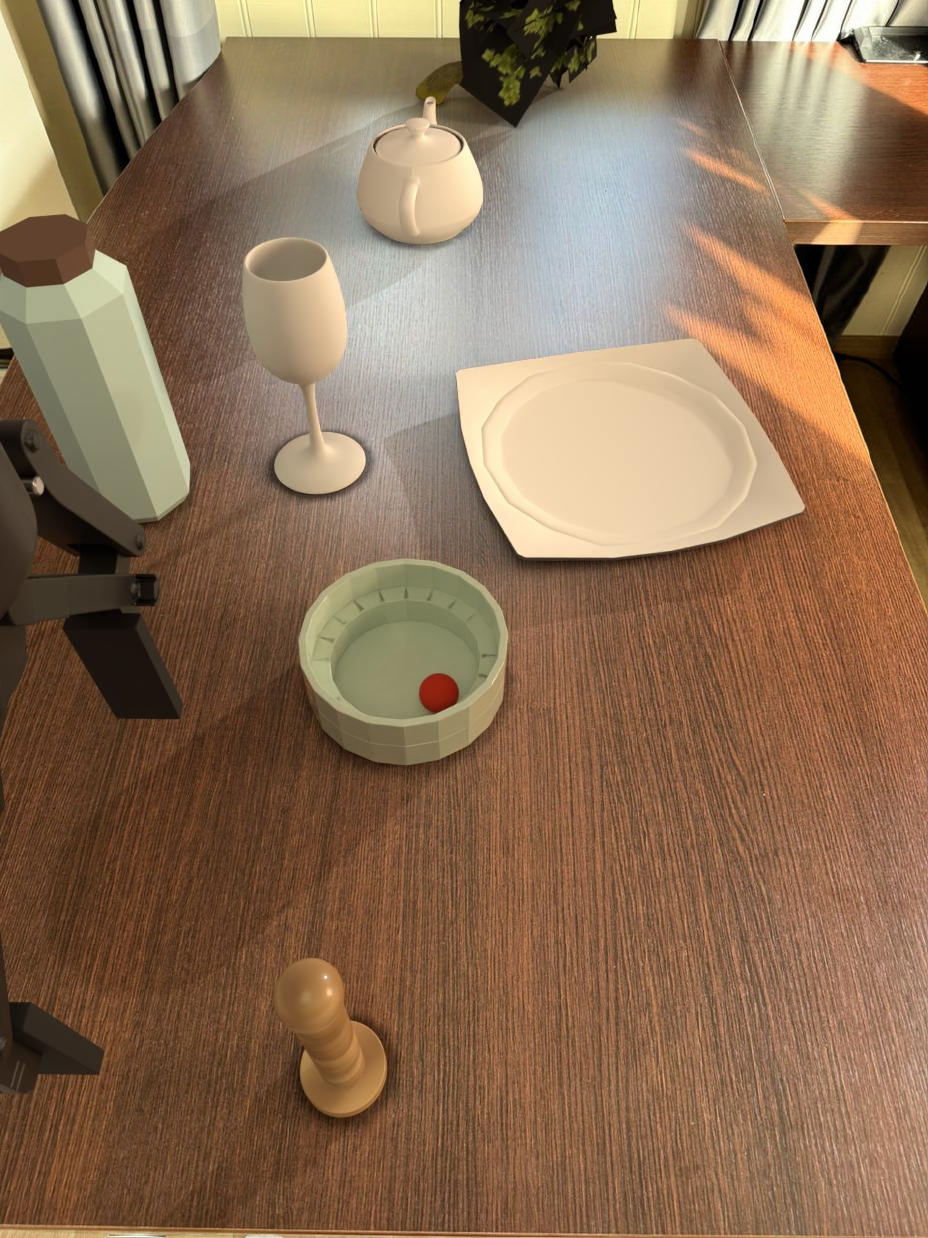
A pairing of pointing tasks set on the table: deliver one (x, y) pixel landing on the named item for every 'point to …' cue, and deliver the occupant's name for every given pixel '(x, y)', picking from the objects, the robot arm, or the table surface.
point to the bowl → (403, 659)
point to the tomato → (438, 692)
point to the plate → (619, 453)
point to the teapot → (419, 181)
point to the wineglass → (301, 351)
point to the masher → (329, 1039)
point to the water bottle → (91, 364)
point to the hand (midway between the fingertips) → (111, 866)
